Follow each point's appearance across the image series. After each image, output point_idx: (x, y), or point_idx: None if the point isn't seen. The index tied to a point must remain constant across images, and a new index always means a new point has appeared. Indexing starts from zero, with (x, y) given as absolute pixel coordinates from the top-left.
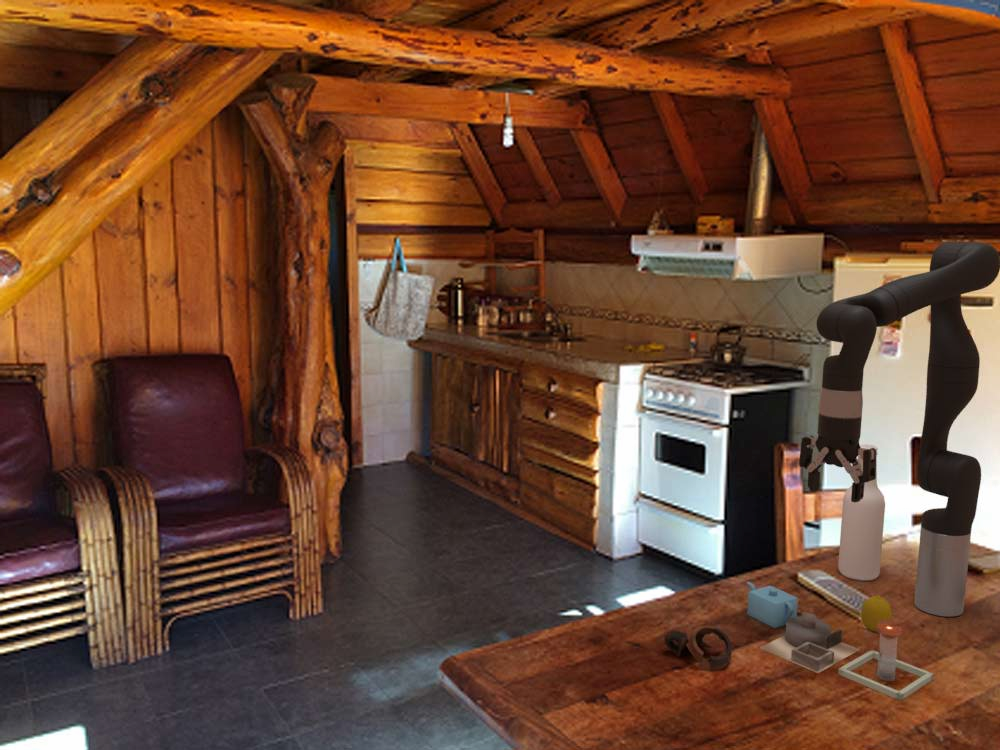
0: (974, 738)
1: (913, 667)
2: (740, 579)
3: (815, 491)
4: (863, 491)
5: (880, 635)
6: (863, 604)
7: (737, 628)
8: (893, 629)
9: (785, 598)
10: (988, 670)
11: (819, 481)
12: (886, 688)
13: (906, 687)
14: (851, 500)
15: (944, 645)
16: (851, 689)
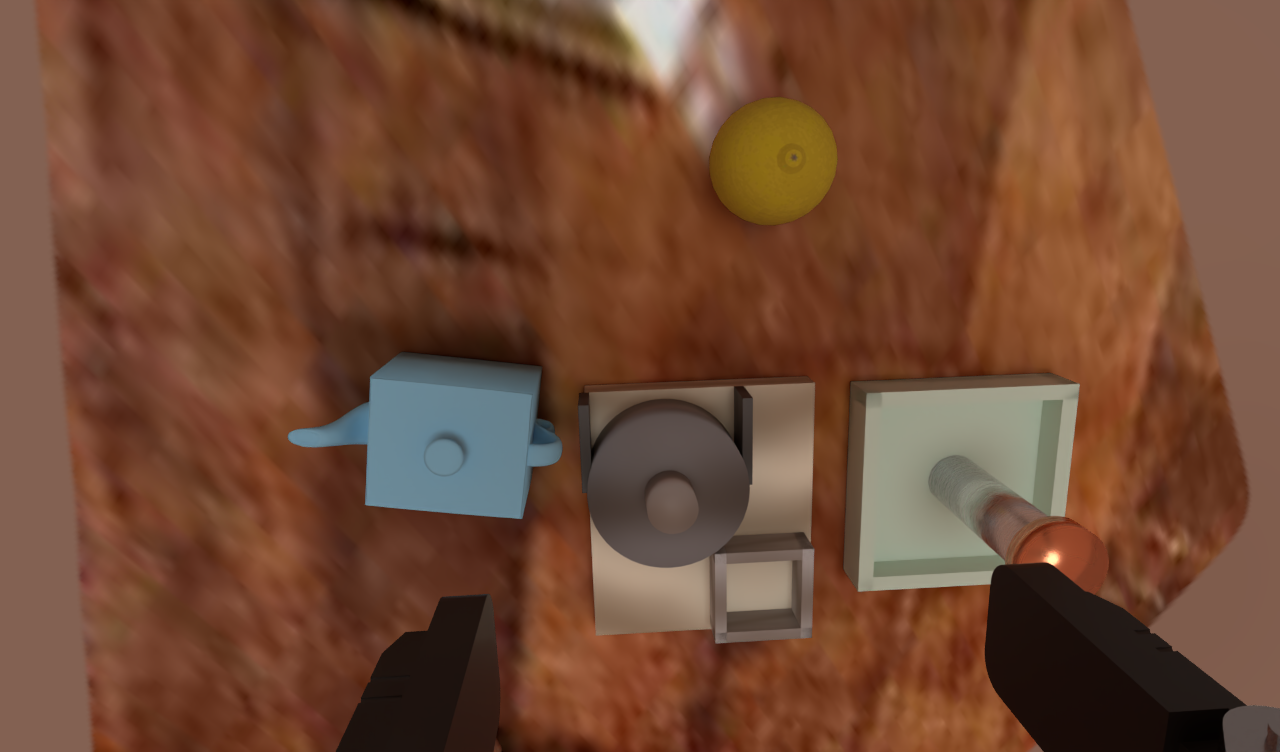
0: (1221, 535)
1: (1017, 397)
2: (67, 134)
3: (495, 649)
4: (1172, 657)
5: None
6: (731, 190)
7: (421, 527)
8: (1090, 592)
9: (505, 440)
10: (1143, 104)
11: (471, 652)
12: None
13: None
14: (996, 685)
15: (967, 32)
16: None
